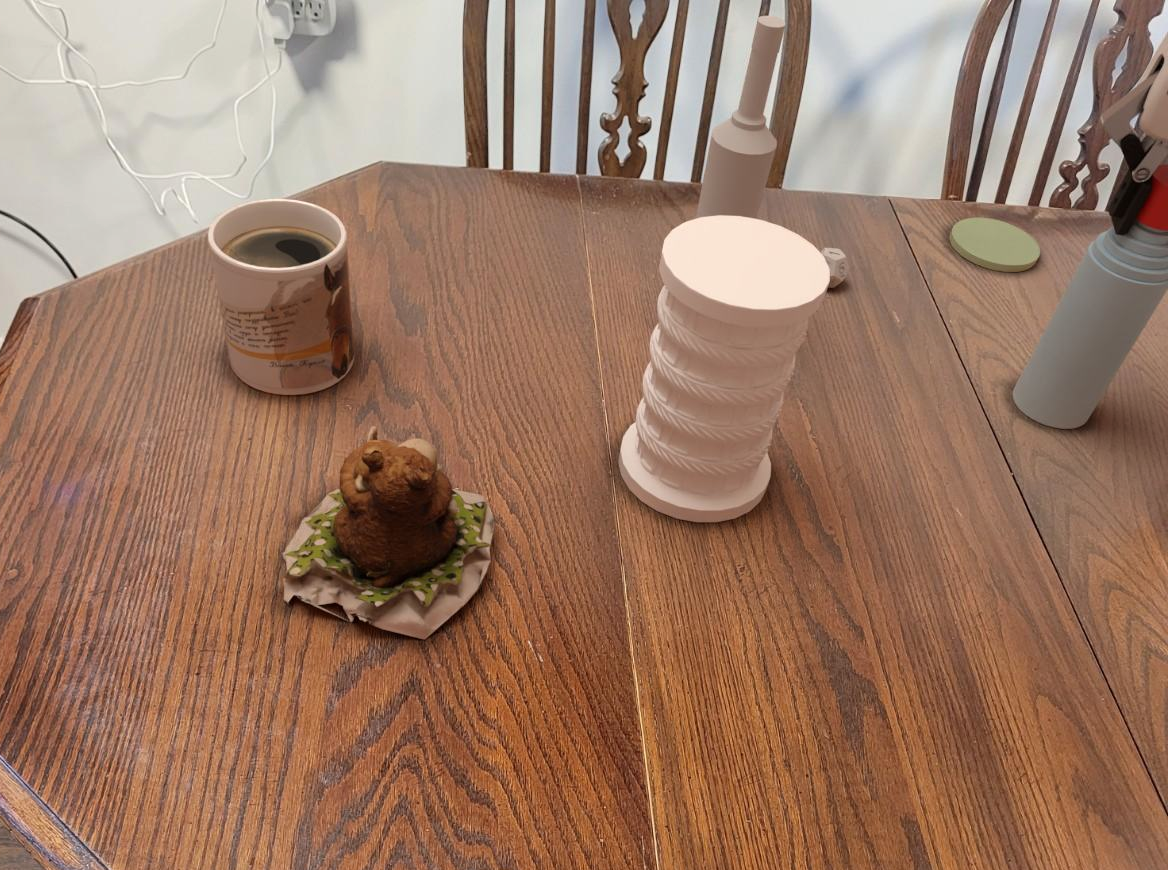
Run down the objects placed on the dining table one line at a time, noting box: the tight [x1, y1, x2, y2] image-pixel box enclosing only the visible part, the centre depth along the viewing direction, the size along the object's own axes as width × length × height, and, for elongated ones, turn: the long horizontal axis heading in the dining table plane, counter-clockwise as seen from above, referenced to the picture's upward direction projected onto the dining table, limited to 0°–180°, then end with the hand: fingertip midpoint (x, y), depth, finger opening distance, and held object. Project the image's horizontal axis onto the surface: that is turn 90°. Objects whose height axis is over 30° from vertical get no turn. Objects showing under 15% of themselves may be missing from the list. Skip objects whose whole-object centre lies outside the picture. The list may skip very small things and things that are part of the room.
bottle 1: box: [695, 15, 786, 219], centre depth 84 cm, size 5×5×25 cm
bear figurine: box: [282, 425, 496, 640], centre depth 67 cm, size 14×15×12 cm
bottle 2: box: [1012, 219, 1168, 430], centre depth 83 cm, size 7×7×20 cm
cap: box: [1136, 164, 1168, 231], centre depth 76 cm, size 4×4×3 cm
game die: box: [819, 247, 851, 289], centre depth 98 cm, size 4×4×3 cm
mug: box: [207, 198, 355, 396], centre depth 81 cm, size 10×12×11 cm
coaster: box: [948, 217, 1041, 273], centre depth 107 cm, size 9×9×1 cm
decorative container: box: [617, 215, 830, 523], centre depth 73 cm, size 12×12×18 cm
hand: (1148, 230), depth 78 cm, fingers closed on cap, 3 cm apart
